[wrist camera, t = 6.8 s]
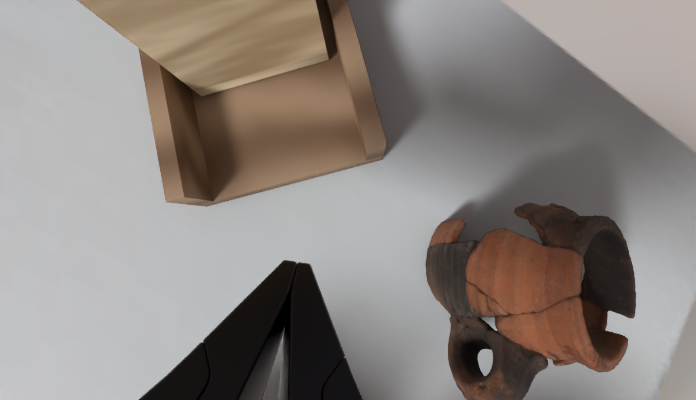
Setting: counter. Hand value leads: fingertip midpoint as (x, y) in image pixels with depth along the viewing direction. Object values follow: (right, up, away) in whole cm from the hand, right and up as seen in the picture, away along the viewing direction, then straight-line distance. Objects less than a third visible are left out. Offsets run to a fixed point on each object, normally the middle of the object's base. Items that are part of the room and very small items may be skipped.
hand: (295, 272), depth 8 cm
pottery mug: (+12, -3, +10) cm, 16 cm away
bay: (-4, +11, +12) cm, 17 cm away
